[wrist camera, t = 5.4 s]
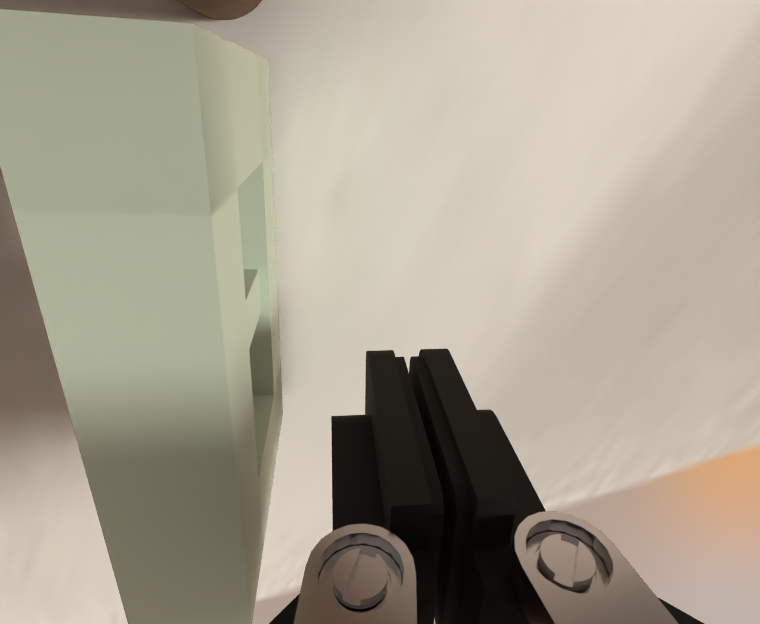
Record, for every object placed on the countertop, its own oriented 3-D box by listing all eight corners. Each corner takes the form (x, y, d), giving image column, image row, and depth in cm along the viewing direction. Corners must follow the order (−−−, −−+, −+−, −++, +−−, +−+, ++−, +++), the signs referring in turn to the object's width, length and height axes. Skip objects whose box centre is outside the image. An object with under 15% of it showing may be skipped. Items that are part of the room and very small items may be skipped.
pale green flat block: (167, 52, 9) (-45, 6, 4) (268, 59, 10) (191, 23, 4) (210, 415, 13) (130, 633, 8) (282, 413, 13) (251, 625, 8)
